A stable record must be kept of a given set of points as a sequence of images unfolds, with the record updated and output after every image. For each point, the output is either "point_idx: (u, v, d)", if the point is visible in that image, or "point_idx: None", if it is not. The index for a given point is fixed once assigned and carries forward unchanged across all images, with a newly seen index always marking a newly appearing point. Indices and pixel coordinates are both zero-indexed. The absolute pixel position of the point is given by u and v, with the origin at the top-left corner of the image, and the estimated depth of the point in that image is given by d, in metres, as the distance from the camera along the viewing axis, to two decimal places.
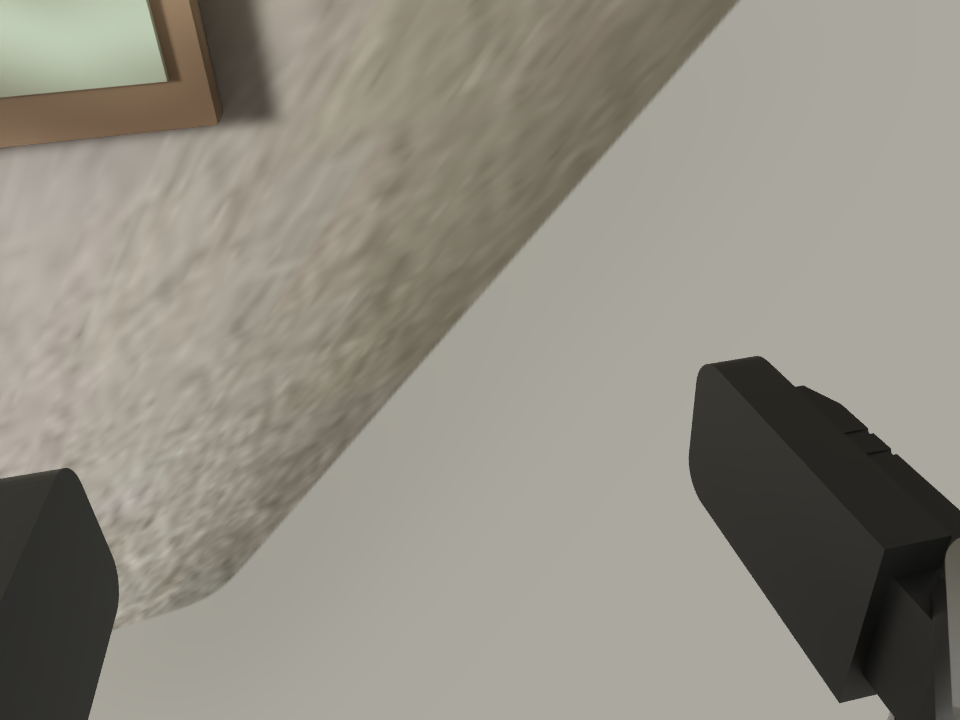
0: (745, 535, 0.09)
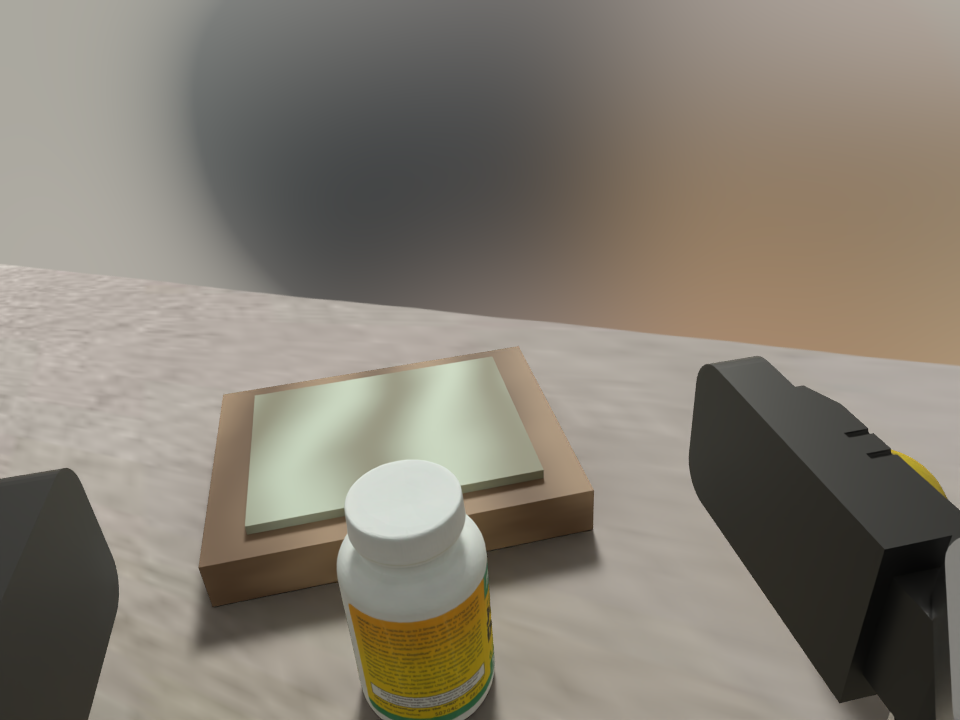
0: (745, 535, 0.09)
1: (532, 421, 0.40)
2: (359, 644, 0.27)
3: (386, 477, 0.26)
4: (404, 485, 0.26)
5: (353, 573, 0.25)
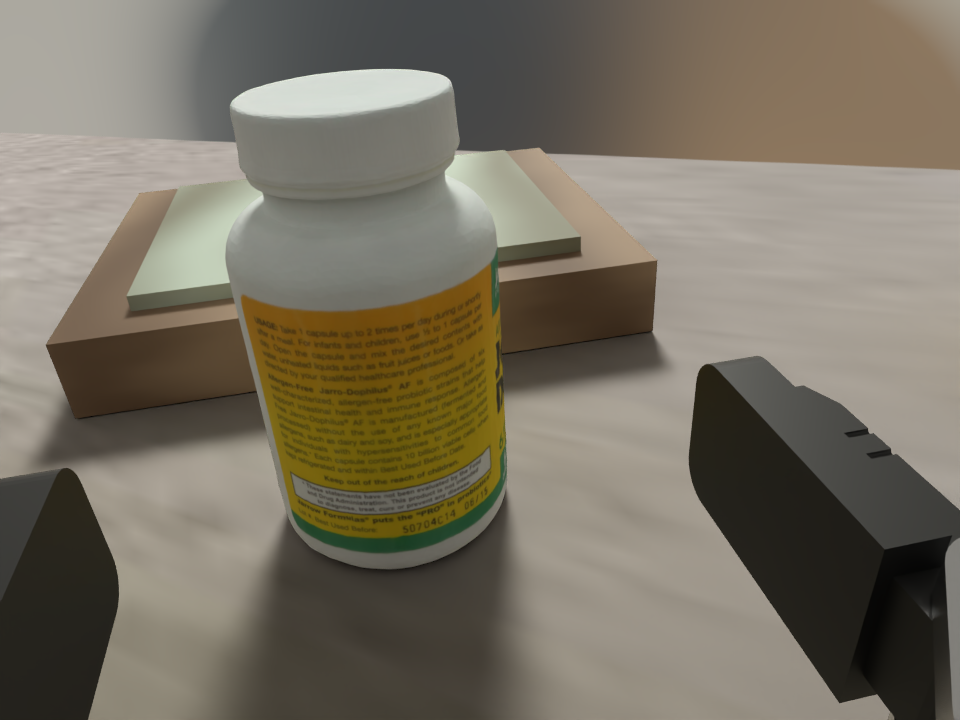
0: (745, 535, 0.09)
1: (561, 204, 0.29)
2: (266, 391, 0.15)
3: (317, 80, 0.14)
4: (347, 84, 0.14)
5: (248, 234, 0.14)
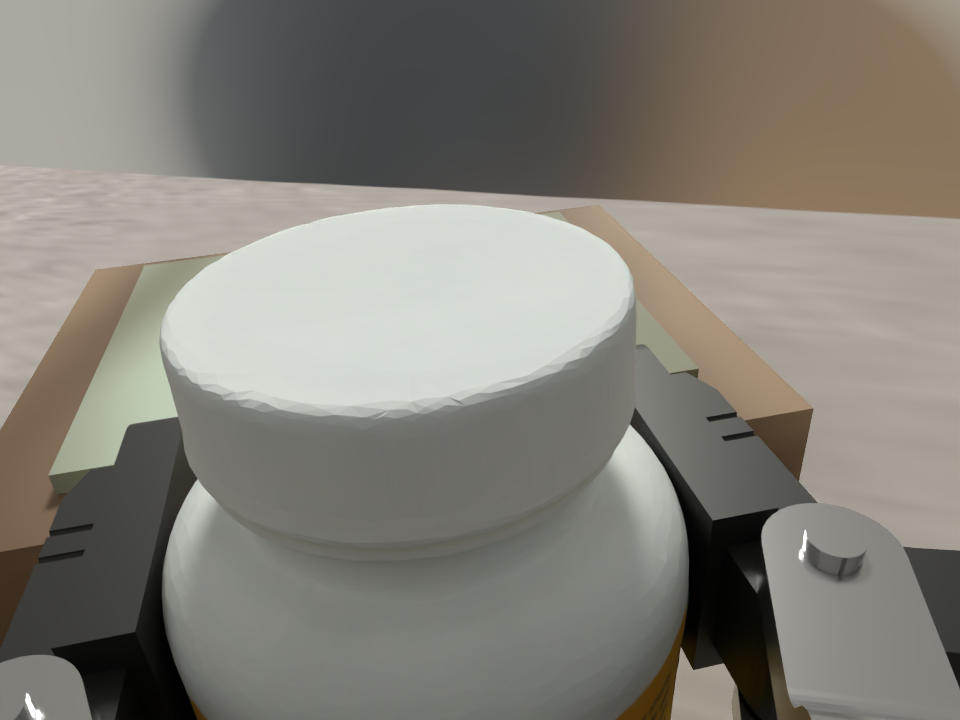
0: None
1: (648, 299, 0.21)
2: None
3: (344, 239, 0.07)
4: (406, 257, 0.07)
5: (203, 584, 0.06)
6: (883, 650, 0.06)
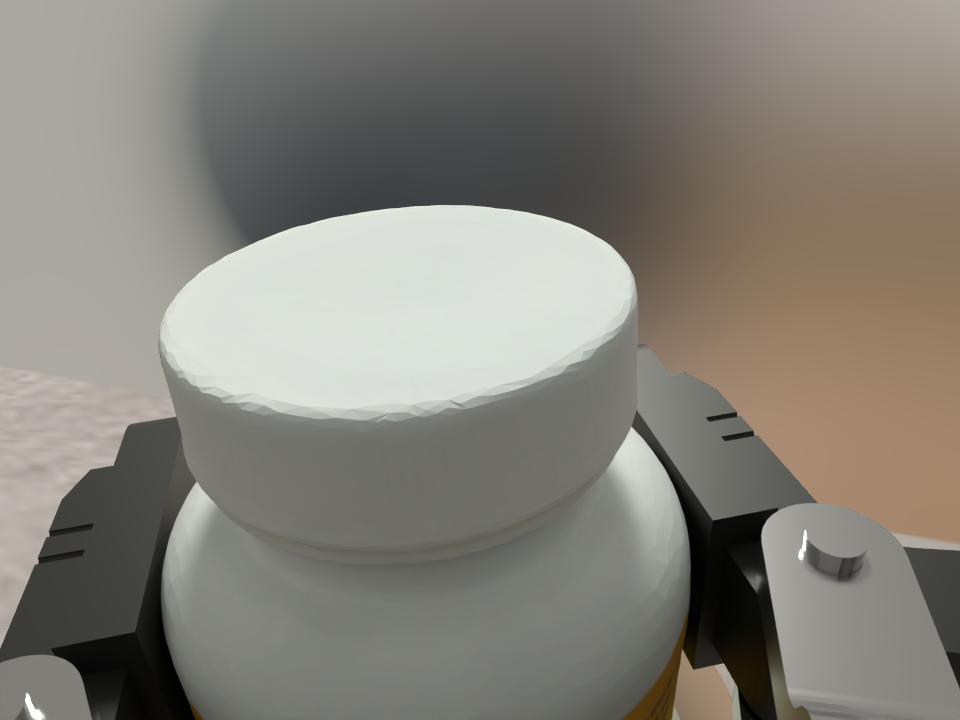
0: None
1: None
2: None
3: (344, 240, 0.07)
4: (407, 258, 0.07)
5: (202, 586, 0.06)
6: (884, 650, 0.06)
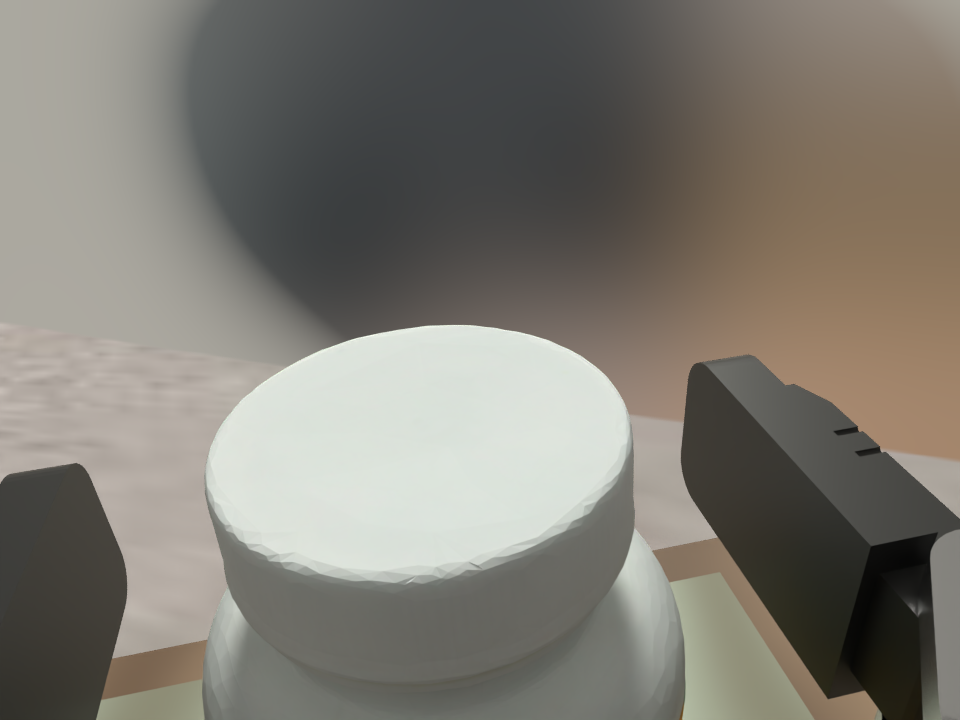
0: (736, 532, 0.09)
1: None
2: None
3: (365, 369, 0.08)
4: (423, 391, 0.08)
5: (243, 699, 0.07)
6: None
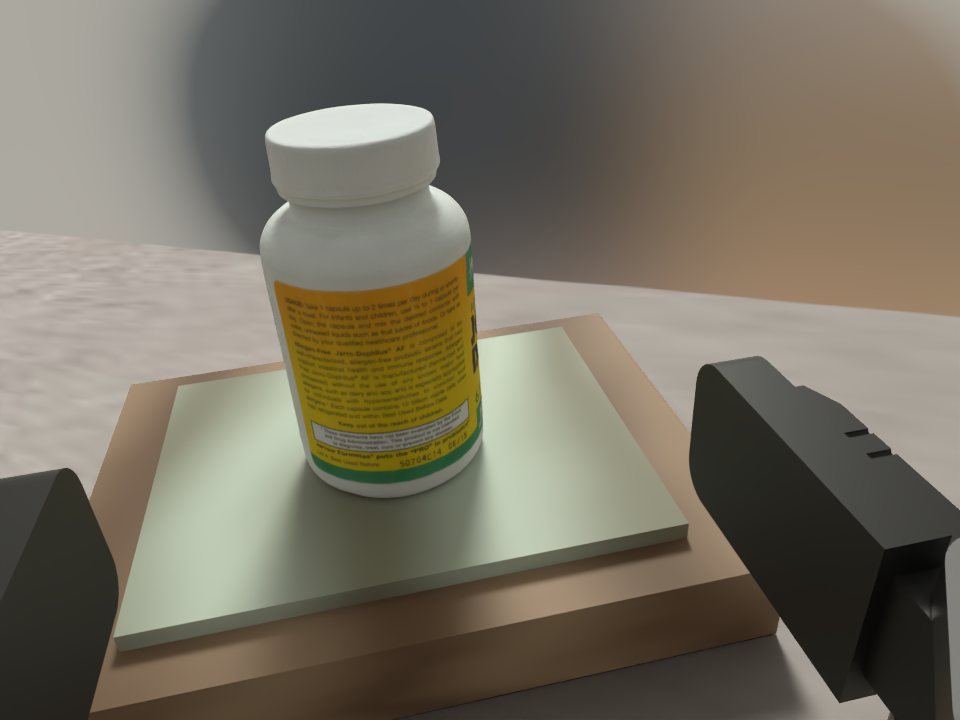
0: (745, 535, 0.09)
1: (644, 431, 0.23)
2: (292, 356, 0.19)
3: (329, 114, 0.19)
4: (353, 118, 0.18)
5: (279, 234, 0.18)
6: None
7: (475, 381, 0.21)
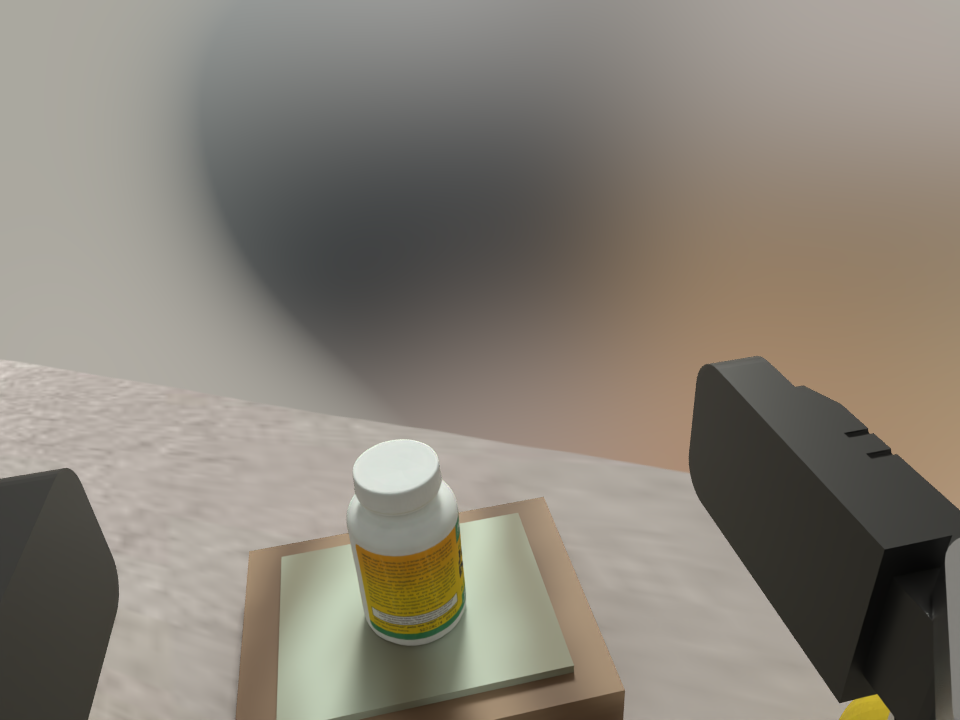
0: (745, 535, 0.09)
1: (560, 597, 0.40)
2: (363, 576, 0.36)
3: (383, 451, 0.36)
4: (396, 457, 0.35)
5: (359, 521, 0.35)
6: None
7: (461, 581, 0.38)
